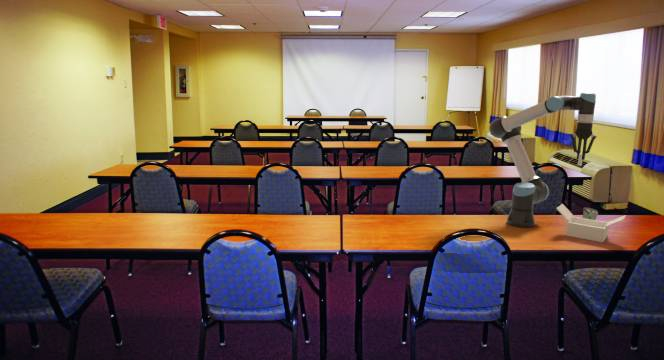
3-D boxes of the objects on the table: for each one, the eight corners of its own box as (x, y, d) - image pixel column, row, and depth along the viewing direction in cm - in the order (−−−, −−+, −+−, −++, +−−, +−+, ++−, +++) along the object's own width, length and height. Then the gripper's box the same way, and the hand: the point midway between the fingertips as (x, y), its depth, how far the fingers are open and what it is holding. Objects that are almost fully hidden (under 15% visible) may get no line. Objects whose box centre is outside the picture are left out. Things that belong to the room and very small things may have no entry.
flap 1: (562, 203, 285) (561, 204, 285) (556, 207, 275) (555, 208, 276) (573, 215, 283) (573, 216, 283) (568, 220, 273) (567, 221, 273)
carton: (565, 235, 273) (567, 222, 272) (571, 229, 285) (573, 216, 284) (602, 242, 263) (604, 228, 261) (607, 236, 275) (609, 222, 273)
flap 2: (621, 220, 257) (622, 220, 257) (625, 215, 267) (626, 215, 267) (604, 226, 262) (605, 227, 262) (608, 221, 272) (609, 222, 272)
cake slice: (599, 230, 285) (601, 213, 283) (587, 229, 286) (589, 212, 284) (592, 224, 296) (594, 208, 294) (581, 223, 298) (583, 207, 296)
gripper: (570, 121, 275) (565, 164, 279) (597, 123, 267) (591, 167, 272) (573, 120, 281) (568, 163, 285) (599, 122, 273) (594, 166, 278)
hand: (579, 165), depth 278 cm, fingers closed
